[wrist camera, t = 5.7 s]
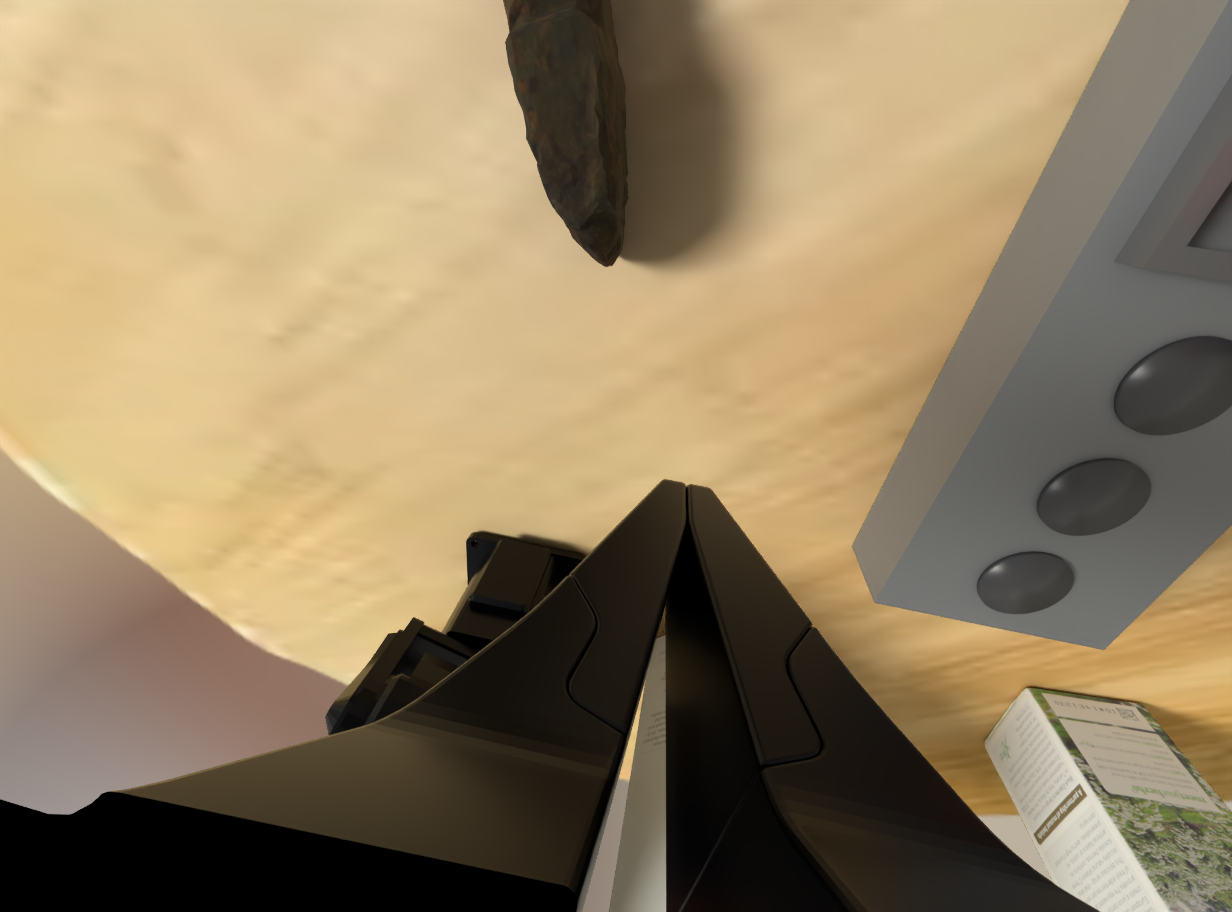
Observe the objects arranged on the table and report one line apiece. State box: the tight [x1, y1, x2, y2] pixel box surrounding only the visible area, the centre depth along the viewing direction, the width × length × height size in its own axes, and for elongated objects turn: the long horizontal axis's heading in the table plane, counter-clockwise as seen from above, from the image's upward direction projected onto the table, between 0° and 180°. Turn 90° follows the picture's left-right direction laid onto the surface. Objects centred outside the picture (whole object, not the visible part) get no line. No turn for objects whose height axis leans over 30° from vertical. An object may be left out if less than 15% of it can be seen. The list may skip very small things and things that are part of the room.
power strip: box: [852, 0, 1232, 650], centre depth 15 cm, size 22×9×4 cm, turn 172°
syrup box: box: [984, 688, 1232, 912], centre depth 20 cm, size 6×6×14 cm
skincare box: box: [609, 635, 666, 912], centre depth 22 cm, size 8×6×15 cm
